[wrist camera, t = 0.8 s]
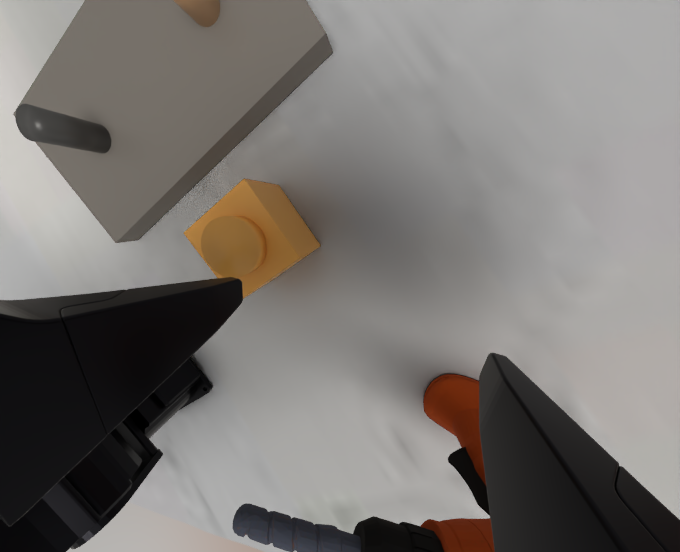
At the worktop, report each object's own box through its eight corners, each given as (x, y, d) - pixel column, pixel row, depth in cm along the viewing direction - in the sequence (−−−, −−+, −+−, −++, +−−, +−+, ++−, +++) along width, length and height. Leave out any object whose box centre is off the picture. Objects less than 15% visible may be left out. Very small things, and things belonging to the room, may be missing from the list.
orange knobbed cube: (269, 282, 22) (225, 309, 16) (228, 227, 22) (168, 234, 16) (320, 246, 21) (293, 262, 15) (278, 185, 20) (232, 176, 14)
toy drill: (308, 319, 21) (202, 594, 6) (523, 393, 22) (849, 781, 7) (291, 367, 22) (174, 678, 8) (493, 435, 23) (716, 826, 9)
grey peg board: (138, 239, 23) (57, 250, 18) (45, 122, 22) (-74, 93, 16) (333, 52, 17) (305, -25, 11) (219, -130, 16) (122, -321, 10)
